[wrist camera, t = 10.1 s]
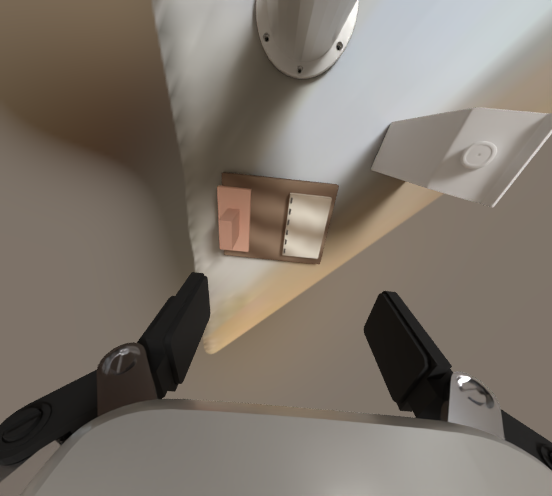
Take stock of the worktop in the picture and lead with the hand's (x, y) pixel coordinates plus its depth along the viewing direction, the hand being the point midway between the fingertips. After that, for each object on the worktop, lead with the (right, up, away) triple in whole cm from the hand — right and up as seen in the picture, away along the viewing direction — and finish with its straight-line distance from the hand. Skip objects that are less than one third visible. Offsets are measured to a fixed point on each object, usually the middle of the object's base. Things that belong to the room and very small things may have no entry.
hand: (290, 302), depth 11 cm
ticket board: (-1, +8, +28) cm, 29 cm away
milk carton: (+20, +19, +22) cm, 35 cm away
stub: (-8, +8, +26) cm, 29 cm away
